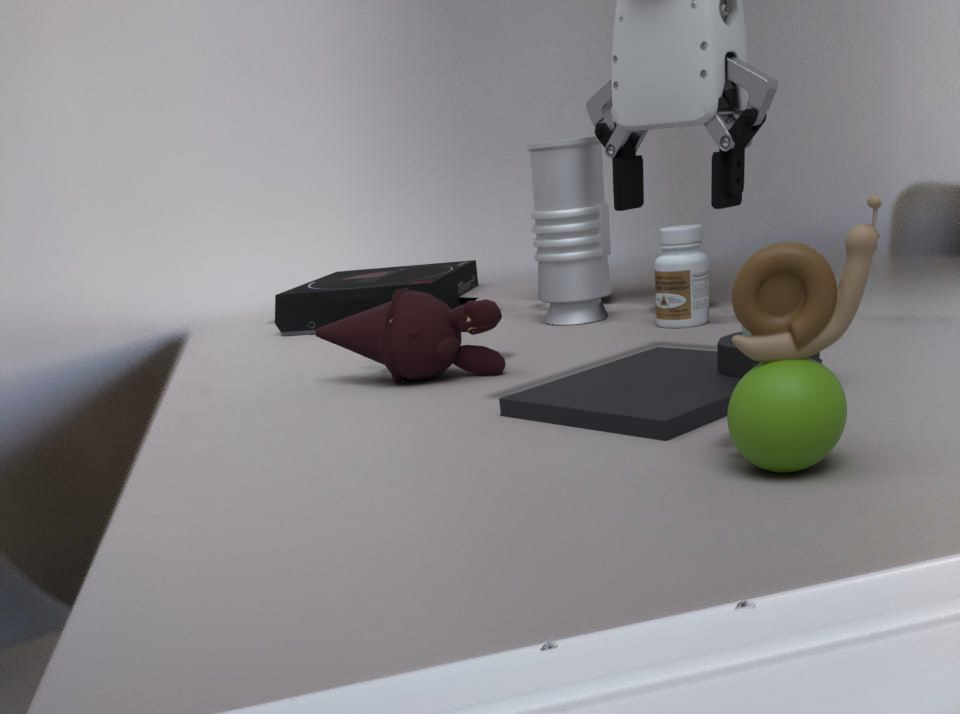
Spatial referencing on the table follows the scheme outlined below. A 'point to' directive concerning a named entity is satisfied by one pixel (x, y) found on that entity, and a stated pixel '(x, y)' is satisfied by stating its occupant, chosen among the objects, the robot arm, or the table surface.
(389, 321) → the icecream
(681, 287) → the pill bottle
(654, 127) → the robot arm
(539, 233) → the silver ribbed cylinder
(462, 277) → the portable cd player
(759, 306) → the snail figurine
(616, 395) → the scale
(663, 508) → the table surface
